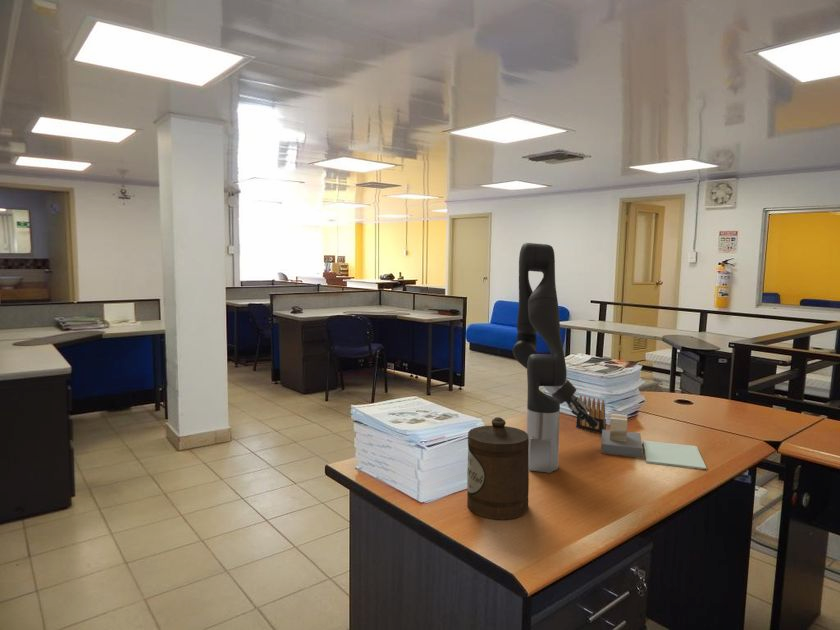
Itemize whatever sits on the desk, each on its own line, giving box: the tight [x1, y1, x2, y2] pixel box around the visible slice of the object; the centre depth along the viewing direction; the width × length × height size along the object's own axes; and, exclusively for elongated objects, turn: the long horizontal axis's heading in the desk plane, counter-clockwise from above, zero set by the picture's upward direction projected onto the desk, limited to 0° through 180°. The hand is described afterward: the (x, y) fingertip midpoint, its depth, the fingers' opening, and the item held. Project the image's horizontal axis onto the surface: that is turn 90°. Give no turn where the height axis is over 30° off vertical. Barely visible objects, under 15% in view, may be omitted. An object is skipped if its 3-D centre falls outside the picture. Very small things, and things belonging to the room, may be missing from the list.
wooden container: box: [466, 416, 530, 521], centre depth 130 cm, size 15×15×22 cm
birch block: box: [609, 413, 628, 442], centre depth 173 cm, size 6×5×7 cm
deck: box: [600, 429, 644, 459], centre depth 173 cm, size 16×12×3 cm
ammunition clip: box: [575, 394, 607, 435], centre depth 191 cm, size 11×2×12 cm, turn 43°
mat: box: [642, 440, 708, 470], centre depth 166 cm, size 20×16×1 cm
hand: (595, 425), depth 176 cm, fingers closed
